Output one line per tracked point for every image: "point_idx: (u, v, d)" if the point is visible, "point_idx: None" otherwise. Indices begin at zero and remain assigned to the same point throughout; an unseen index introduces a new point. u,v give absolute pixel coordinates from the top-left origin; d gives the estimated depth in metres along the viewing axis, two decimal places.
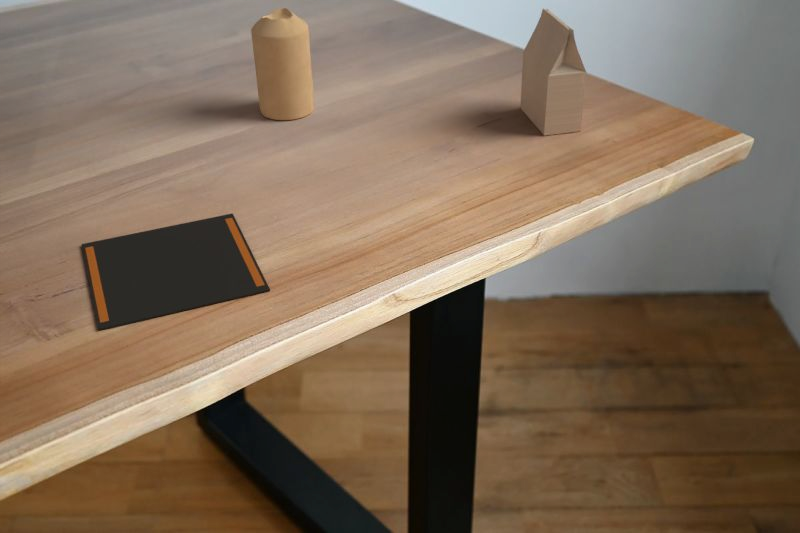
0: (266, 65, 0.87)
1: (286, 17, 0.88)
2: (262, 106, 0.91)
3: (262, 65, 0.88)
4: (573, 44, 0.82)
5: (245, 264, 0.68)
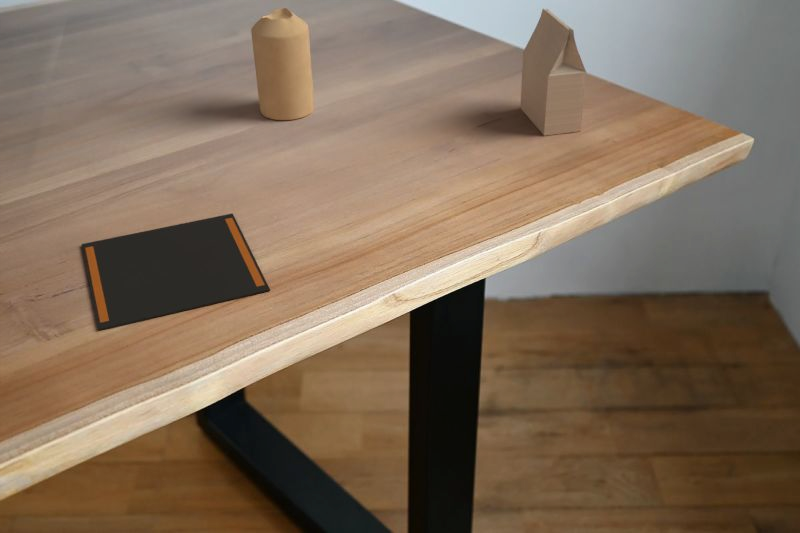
0: (266, 65, 0.87)
1: (286, 17, 0.88)
2: (262, 106, 0.91)
3: (262, 65, 0.88)
4: (573, 44, 0.82)
5: (245, 264, 0.68)
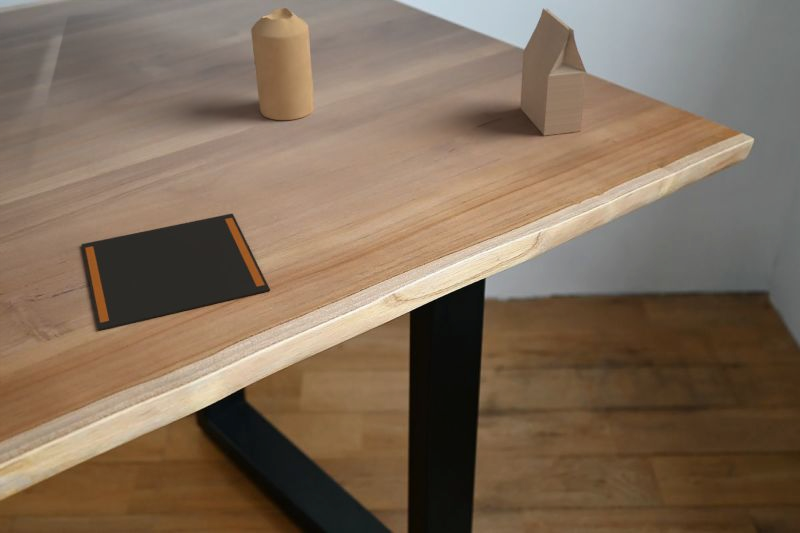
0: (266, 65, 0.87)
1: (286, 17, 0.88)
2: (262, 106, 0.91)
3: (262, 65, 0.88)
4: (573, 44, 0.82)
5: (245, 264, 0.68)
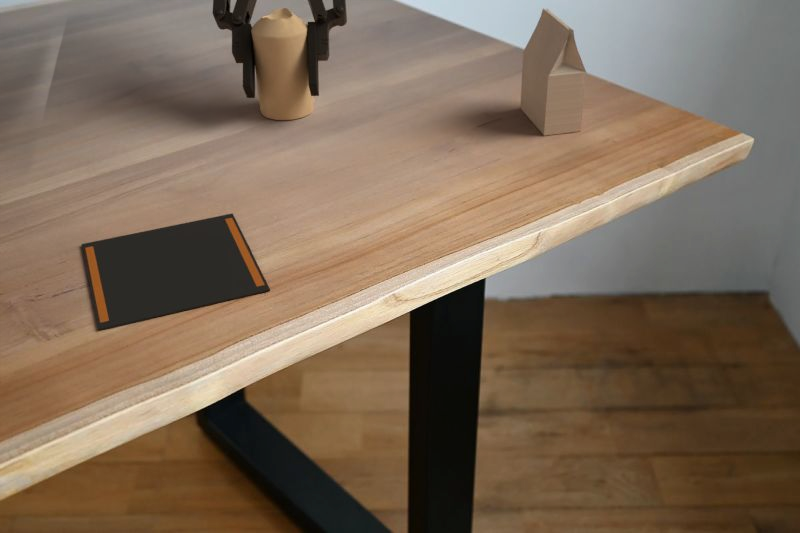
0: (266, 65, 0.87)
1: (286, 17, 0.88)
2: (262, 106, 0.91)
3: (262, 65, 0.88)
4: (573, 44, 0.82)
5: (245, 264, 0.68)
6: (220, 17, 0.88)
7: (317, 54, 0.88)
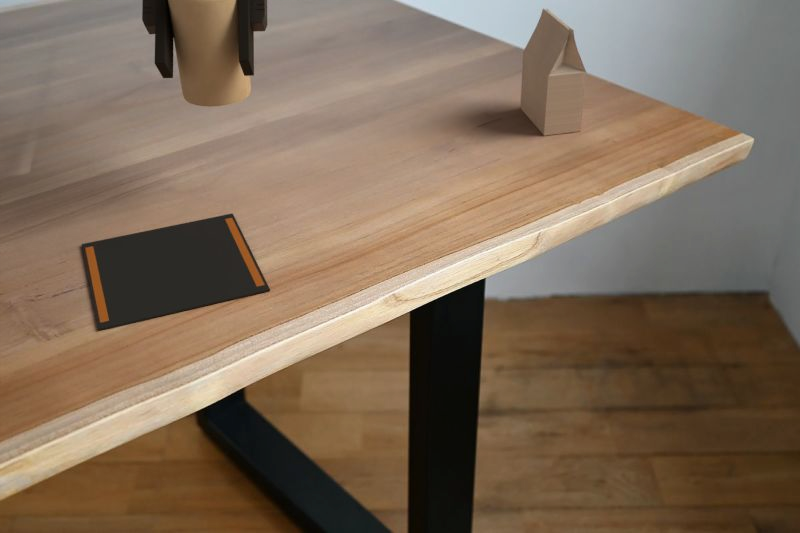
0: (186, 36, 0.69)
1: None
2: (184, 88, 0.72)
3: (181, 36, 0.69)
4: (573, 44, 0.82)
5: (245, 264, 0.68)
6: None
7: (251, 22, 0.69)
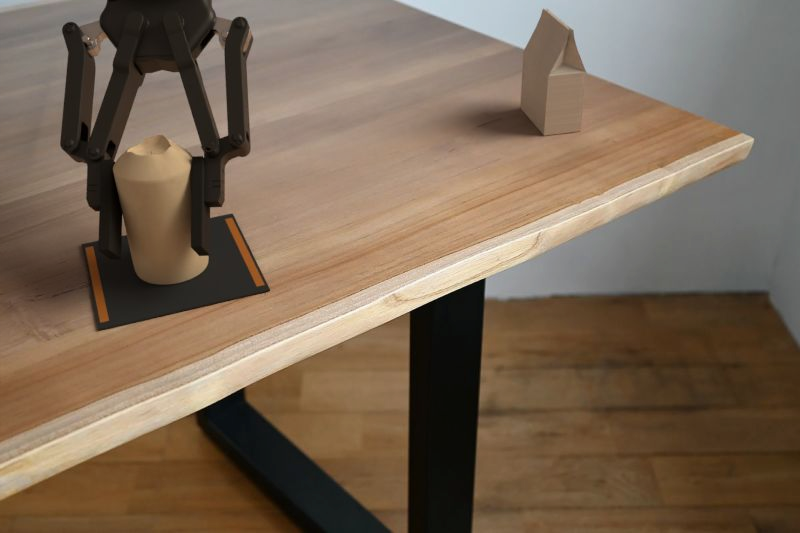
0: (134, 216, 0.63)
1: (162, 148, 0.64)
2: (134, 264, 0.66)
3: (129, 214, 0.63)
4: (573, 44, 0.82)
5: (245, 264, 0.68)
6: (70, 150, 0.64)
7: (205, 201, 0.63)
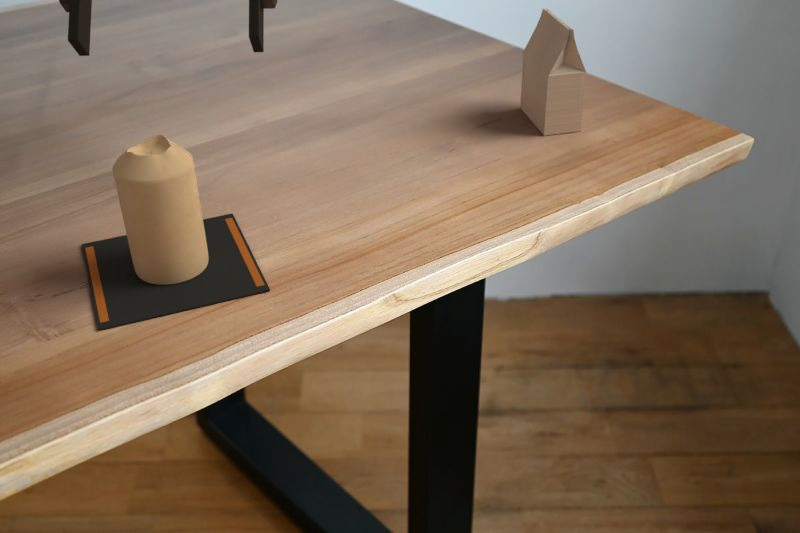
0: (134, 216, 0.63)
1: (162, 148, 0.64)
2: (134, 264, 0.66)
3: (129, 215, 0.63)
4: (573, 44, 0.82)
5: (245, 264, 0.68)
6: None
7: None
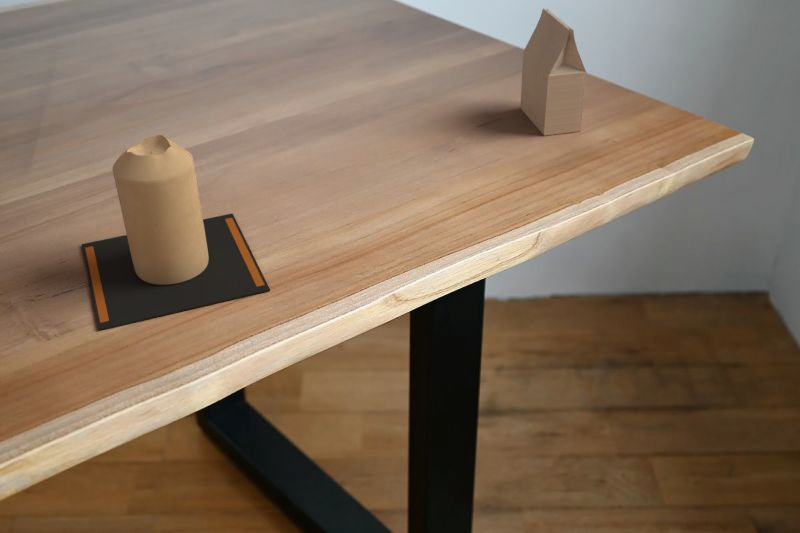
0: (134, 216, 0.63)
1: (162, 148, 0.64)
2: (134, 264, 0.66)
3: (129, 215, 0.63)
4: (573, 44, 0.82)
5: (245, 264, 0.68)
6: None
7: None
